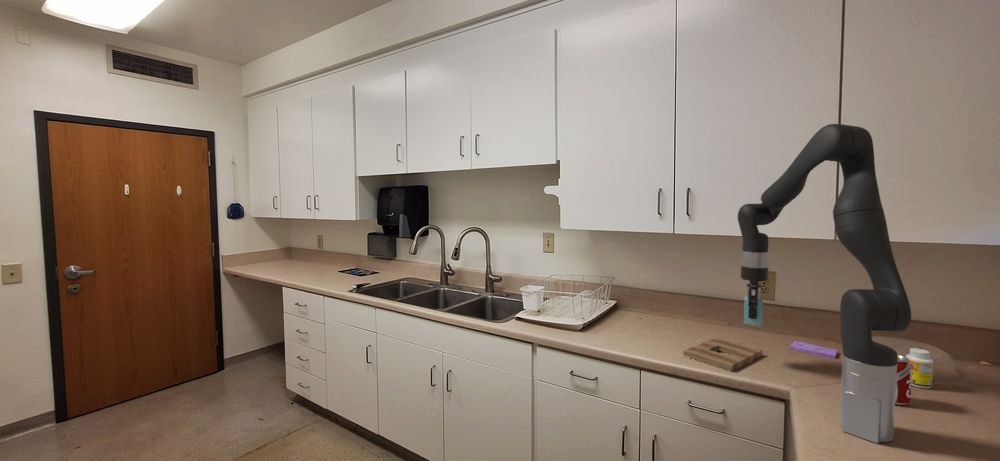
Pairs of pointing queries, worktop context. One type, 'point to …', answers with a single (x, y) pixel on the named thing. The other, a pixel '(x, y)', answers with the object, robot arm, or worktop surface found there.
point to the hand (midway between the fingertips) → (752, 316)
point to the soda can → (903, 381)
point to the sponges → (814, 349)
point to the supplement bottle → (921, 368)
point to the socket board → (727, 362)
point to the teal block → (759, 312)
